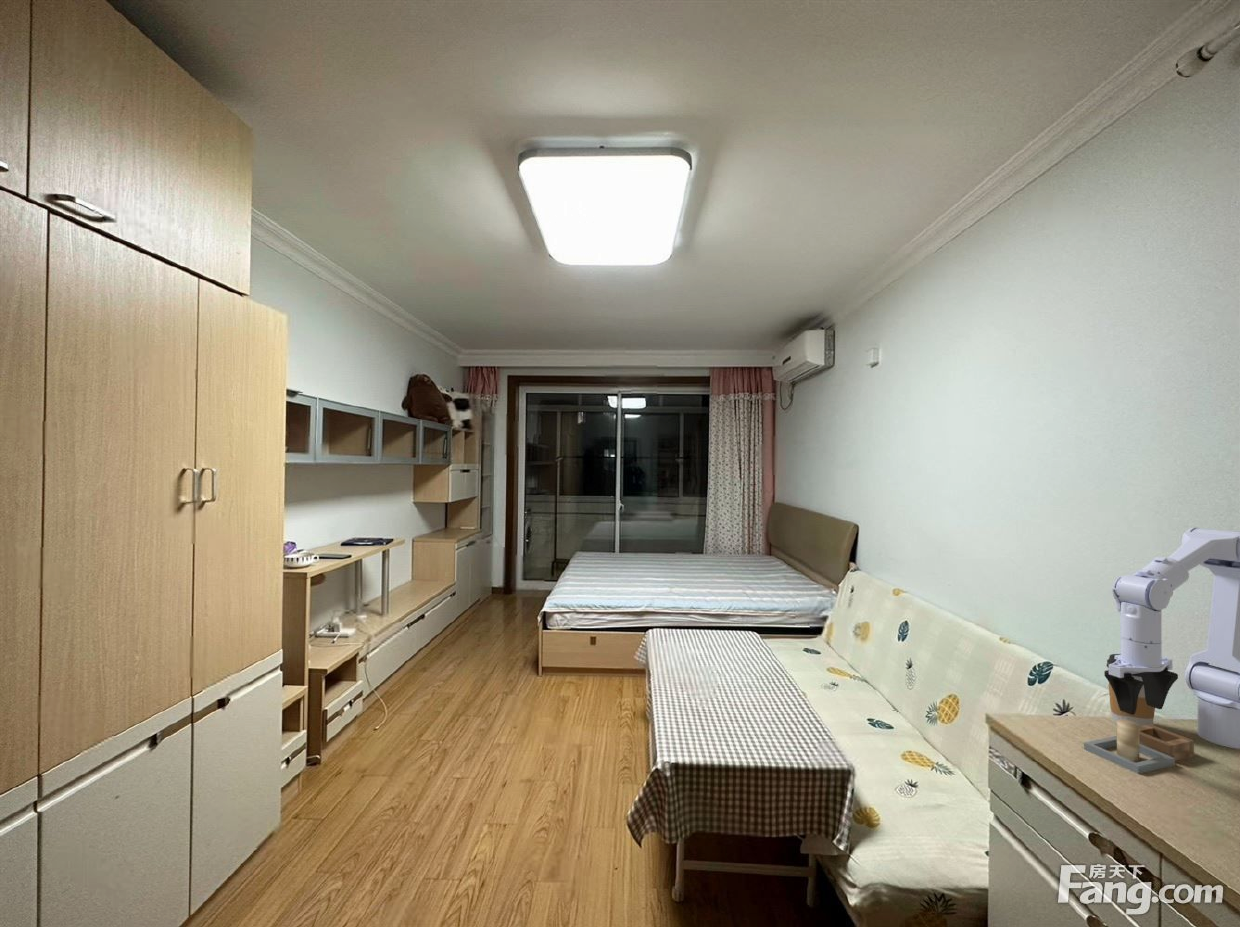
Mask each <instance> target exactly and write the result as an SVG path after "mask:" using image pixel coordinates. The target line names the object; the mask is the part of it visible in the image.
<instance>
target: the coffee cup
mask: <svg viewBox="0 0 1240 927" xmlns="http://www.w3.org/2000/svg"><path fill="white" fill-rule="evenodd" d="M1115 655H1121V653H1111V654H1110V655H1109V656H1108V659H1106V662H1107V663H1106V665H1105V666H1106V667H1107V670H1109V664H1112V663H1114V662H1115V661H1117V660H1116V659H1115ZM1132 677H1134V679H1136V680H1139V681H1142V678H1141V675H1140V673H1136V674H1132ZM1108 694H1109V704H1110V707H1109V708H1110V710H1111V711H1110V712H1111V721H1112V723H1114V724H1116V725H1117V720H1119V719H1123V720H1128V721H1132V722H1135V723H1137V724H1138V725H1139V726H1144V725H1149V724H1151V725H1153V726H1154V718H1155V709H1156V708H1154V707H1151V706H1149V705H1147V703H1146V699H1145V691H1144V685H1143V686H1142V688H1141V690H1140V692H1139V695H1138V700H1137V708H1136V712H1135V714H1134V715H1131V714H1128V713H1126V712H1123V711H1120V708H1119V705H1118V702H1117V699H1116V696H1115V693H1114V691H1113V688H1112V686H1111V685H1110V683H1109V682H1108Z"/></svg>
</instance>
